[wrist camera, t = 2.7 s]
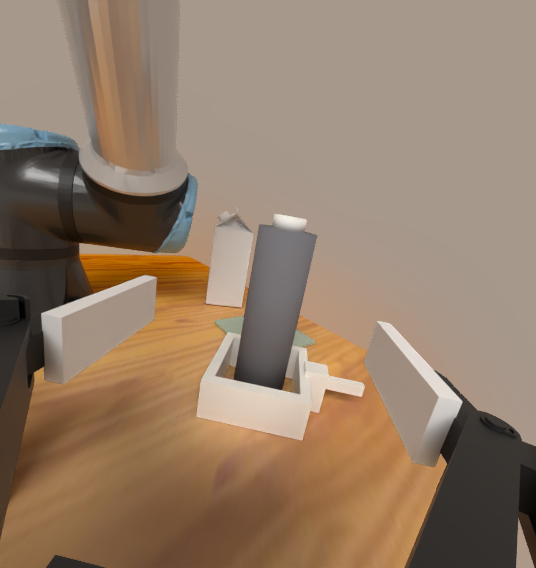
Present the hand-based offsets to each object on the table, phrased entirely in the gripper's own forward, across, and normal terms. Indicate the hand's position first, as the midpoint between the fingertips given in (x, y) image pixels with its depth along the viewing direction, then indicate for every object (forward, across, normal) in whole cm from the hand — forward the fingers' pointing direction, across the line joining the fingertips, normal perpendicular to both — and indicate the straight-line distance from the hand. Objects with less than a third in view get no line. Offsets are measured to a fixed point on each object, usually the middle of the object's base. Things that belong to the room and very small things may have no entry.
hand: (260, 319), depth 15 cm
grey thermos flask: (+11, 0, -13) cm, 17 cm away
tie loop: (+11, +3, -13) cm, 17 cm away
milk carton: (+37, -10, -13) cm, 40 cm away
